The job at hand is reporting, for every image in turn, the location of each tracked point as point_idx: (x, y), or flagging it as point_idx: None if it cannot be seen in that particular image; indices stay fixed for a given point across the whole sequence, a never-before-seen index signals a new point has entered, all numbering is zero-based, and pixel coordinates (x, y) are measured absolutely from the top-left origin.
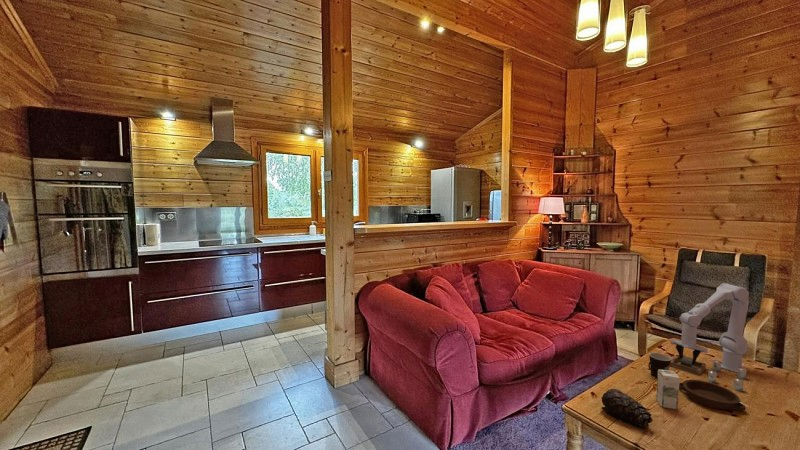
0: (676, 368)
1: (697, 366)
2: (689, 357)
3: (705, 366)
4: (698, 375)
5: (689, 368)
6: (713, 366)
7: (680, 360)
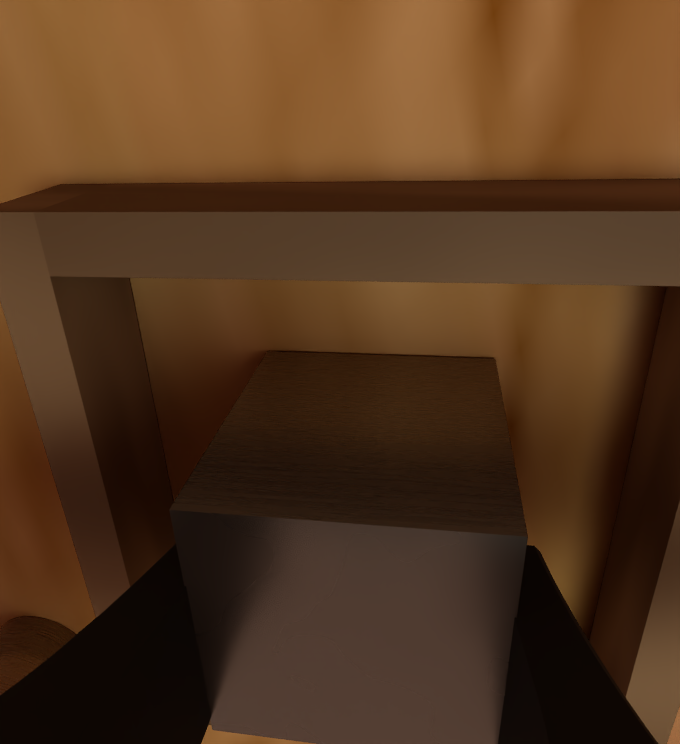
0: (561, 184)
1: None
2: (331, 738)
3: None
4: (76, 187)
5: (221, 211)
6: None
7: None
